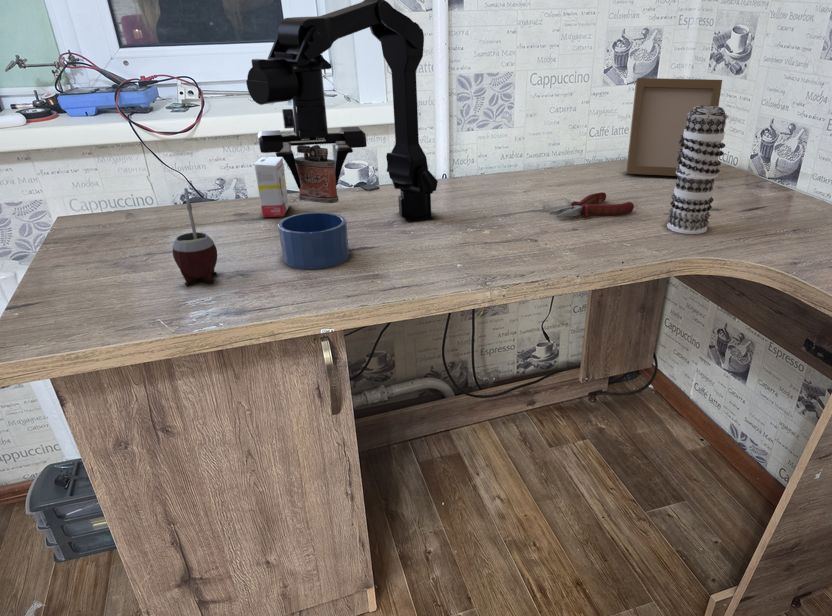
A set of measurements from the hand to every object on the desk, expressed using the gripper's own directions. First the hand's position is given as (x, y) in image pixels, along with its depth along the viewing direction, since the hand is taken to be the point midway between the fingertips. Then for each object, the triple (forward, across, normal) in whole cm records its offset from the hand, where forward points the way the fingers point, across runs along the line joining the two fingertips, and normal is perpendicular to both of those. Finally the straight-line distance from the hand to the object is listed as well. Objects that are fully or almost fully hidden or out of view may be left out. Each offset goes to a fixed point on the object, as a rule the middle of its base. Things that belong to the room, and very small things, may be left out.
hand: (317, 186), depth 118 cm
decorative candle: (+12, -77, +11) cm, 79 cm away
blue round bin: (+13, +2, +3) cm, 13 cm away
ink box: (+13, +7, -29) cm, 33 cm away
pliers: (+12, -62, -7) cm, 64 cm away
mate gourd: (+13, +23, +7) cm, 27 cm away
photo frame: (+12, -101, -32) cm, 106 cm away
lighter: (+3, 0, 0) cm, 3 cm away
